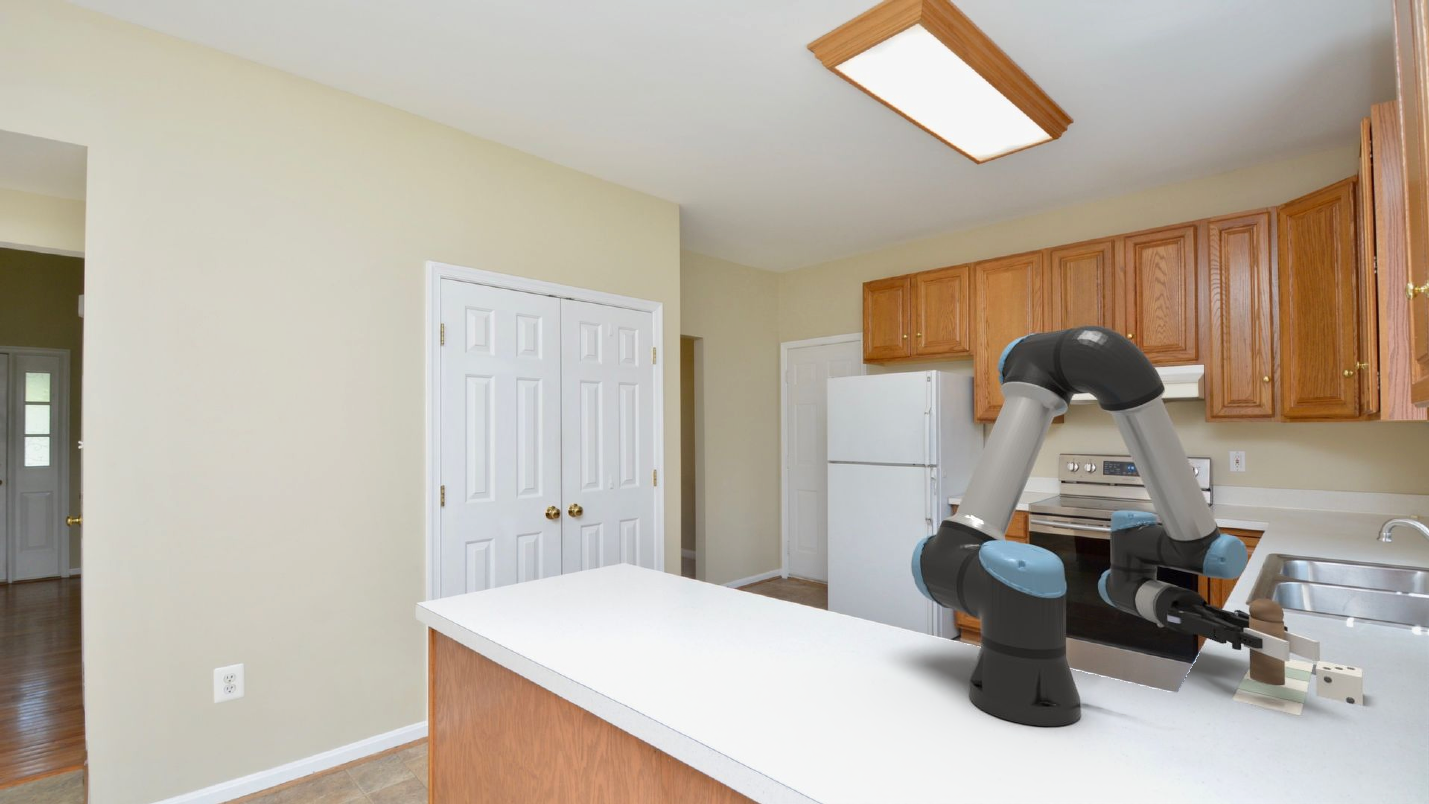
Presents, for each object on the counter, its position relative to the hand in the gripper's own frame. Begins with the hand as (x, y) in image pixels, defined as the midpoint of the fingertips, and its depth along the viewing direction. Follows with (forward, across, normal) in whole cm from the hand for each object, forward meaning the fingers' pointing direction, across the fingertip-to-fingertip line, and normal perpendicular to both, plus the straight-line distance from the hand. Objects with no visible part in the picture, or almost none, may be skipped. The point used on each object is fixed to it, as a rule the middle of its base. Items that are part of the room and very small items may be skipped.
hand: (1301, 651), depth 92 cm
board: (-13, -9, -10) cm, 19 cm away
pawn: (-5, 0, -6) cm, 8 cm away
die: (-7, -13, -10) cm, 18 cm away
